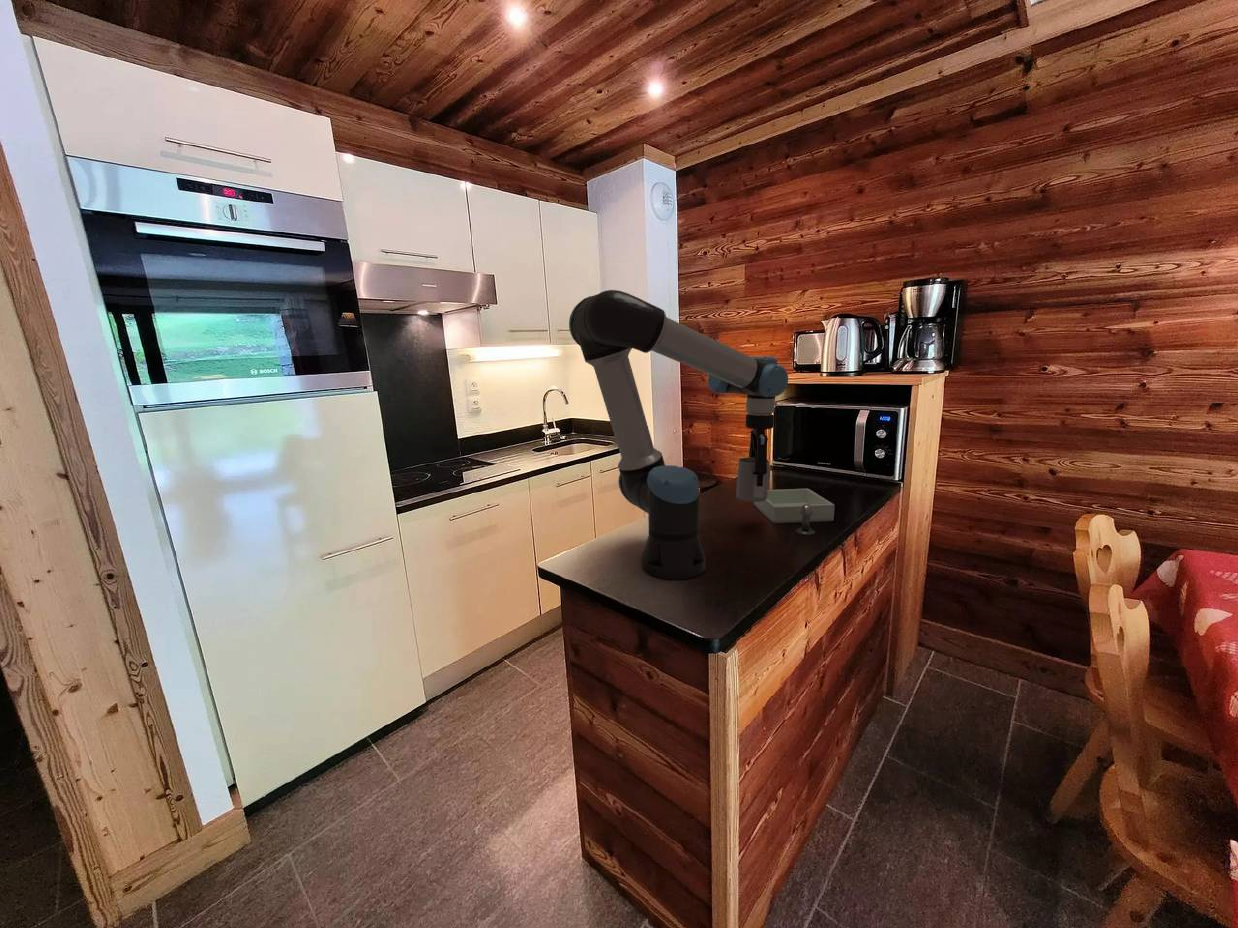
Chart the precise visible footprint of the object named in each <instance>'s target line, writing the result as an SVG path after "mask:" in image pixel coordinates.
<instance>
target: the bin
mask: <svg viewBox="0 0 1238 928" xmlns="http://www.w3.org/2000/svg"><path fill="white" fill-rule="evenodd" d="M804 504H808V505H811V506H812V507H813V510H814V512H813V514H812V516H810V523H815V522H816V523H818V522H819V523H820V522H834V518H835V508H836V507H835V504H834V503H833V502H831V501H829V500H828V499H826V498H825V497H823V496H821V495H819V494H818V493H816V492H815V491H813V490H811V489H810V488H793V489H792V488H791V489H790V488H788V489H769V490H767V499H766V500H765V501H762V502H753V505H754V507H755V508H757V509H758V511H760V512H761V514H763V515H764V516H765V517H766V518H767V519H768V520H769V521H770V522H771V523H773V524H792V523H793V524H794V523H802V515H801V514H800V507H801V506H802V505H804Z"/></svg>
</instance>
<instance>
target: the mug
mask: <svg viewBox="0 0 1238 928" xmlns="http://www.w3.org/2000/svg"><path fill="white" fill-rule="evenodd" d="M770 470H771V467H770V460H768V459H767V473H766V474H765V482H764V497H753V488H754V474H753V472H755V458H749V457H740V458H739V459H738V461H737V475H736V476H737V477H736V478H737V479H736V493H735V495H736V499H737V500H740V501H742V502H748V503H749V502H750V503H754V502H762V501H765V500H766V499H767V490H768V488H769V487H768V485H769V481H770V477H771V476H770V474H771V471H770Z"/></svg>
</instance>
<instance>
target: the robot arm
mask: <svg viewBox="0 0 1238 928" xmlns="http://www.w3.org/2000/svg"><path fill="white" fill-rule="evenodd" d="M568 329H569V333H570V336H571V337H572V339H573V340H574V342H575V343H576V344H577V345H578V346H580V350H581V352H582V356H583V359H584V362H585V363H586V364H589V365H590V366H591V367H593V369H594V373H595V376H596V380H597V382H598V386H599V388H600V392H601V396H602V398H603V399H602V400H603V402H604V406H605V409H606V412H607V414H608V418H609V421H610V425H611V428H612V432H613V435H614V438H615V442H616V444H617V447H618V451H619V454H620V460H619V462H618V464H617V467H618V471H619V475H618V487H619V490H620V493H621V494H622V496H623V497H624V498H625V499H626V501H627V502H629V503H630V504H631V505H633V506H635V507H637V508H638V509H640V510H642V511H643V512H645V513H647V515H648V518H647V519H648V535H647V539H646V541H645V545H644V549H643V551H642V555H641V568H642V570H643V571H644V572H645V573H647V574H648V575H650V576H651V577H655V578H659V579H665V580H686V579H691V578H694V577H697V576H699V575H702V574H703V572H704V571H705V570H706V556H705V553H704V549H703V546H702V544H701V541H700V538H699V506H700V504H699V503H700V502H699V501H700V499H699V498H700V497H699V496H700V495H699V494H700V487H699V486H700V485H699V478H698V476H697V474H696V473H695V472H694V471H693V470H691V469H689V468H687V467H684V466H678V465H671V464H670V465H668V464H665V463H666V462H665V460H664V456H663V454H662V452H661V451H660V450H659V449H656V448H655V447H654V444H653V440H652V437H651V432H650V429H649V425H648V422H647V418H646V415H645V411H644V408H643V405H642V401H641V398H640V394H639V390H638V387H637V383H636V379H635V376H634V372H633V369H632V366H631V361H630V359H629V354H630V353H631V351H632V349H633V350H637V351H640V352H641V353H644V354H647V353H649V352H651V351H652V352H654V353H656V354H659V355H661V356H663V357H666V358H668V359H670V360H673V361H676V362H677V363H681V364H682V365H685V366H688V367H689V368H692V369H694V370H697V371H700V372H702V373H704V374H707V375H708V376H707V378H708V379H707V384H708V387H709V389H710V391H711V392H712V393H715V394H721V395H725V394H735V395H736V394H737V395H746V403H745V404H746V408H745V412H746V413H747V414H746V415H745V427H746V428H747V429H751V430H750V436H749V437H750V441H749V449H748V451H749V452H748V458H755V472H753V474H754V488H753V497H764V482H765V474H766V473H767V460H768V440H769V437H768V435H767V434H766V430H771V429H773V428H774V426H775V425H774V424H775V415H774V413H775V406H777V405H778V402H777V401H776V397H778V396H780V395H781V394H783V393H784V392H785V391H786V388H787V386H788V384H789V375H788V371H787V370H786V368H784V367H783V365H780V364H778V359H777V358H776V357H775V356H750V355H747V354H746V353H743V352H741V351H739V350H737V349H735V348H733V347H731V346H728V345H726V344H725V343H723V342H720V341H718V340H716V339H714V338H711V337H709V336H708V335H705V334H703V333H701V332H699V331H697V330H695V329H692V328H690V327H689V326H687V325H684V324H682V323H680V322H678V321H675V320H674V319H671V318H669V317H668V316H667V314H666V312H665V310H664V309H662V308H660V307H658V306H655V305H653V304H651V303H650V302H648V301H646V300H643V299H641V298H640V297H637V296H635V295H633V294H631V293H628V292H625V291H622V290H617V289H609V290H605V291H604V290H603V291H601V292H599V293H597V294H594V295H592V296H588V297H585V298H583V299H582V300H580V301H579V302H578V303H577V304H576V305H575V306H574V307H573V309H572V311H571V314H570V316H569V320H568Z"/></svg>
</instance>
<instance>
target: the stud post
mask: <svg viewBox="0 0 1238 928" xmlns="http://www.w3.org/2000/svg"><path fill="white" fill-rule="evenodd" d="M813 512H814V510H813V507H812V506H811V505H808V504H804V505H802V506H801V507H800V514H801V515H802V522H801V527H797V528H796V529H795V533H797V534H798V535H800V536H801V535H802V536H814V535H815V534H816V531H815V529H813V528H811V527H810V524H811V522H810V516H812V514H813Z"/></svg>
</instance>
